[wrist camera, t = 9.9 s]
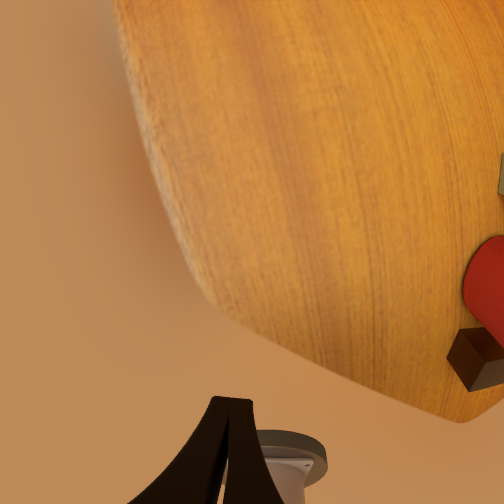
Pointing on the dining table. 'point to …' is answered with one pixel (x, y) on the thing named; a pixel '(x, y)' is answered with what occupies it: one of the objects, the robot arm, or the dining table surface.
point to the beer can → (487, 287)
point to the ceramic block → (501, 177)
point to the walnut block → (477, 359)
